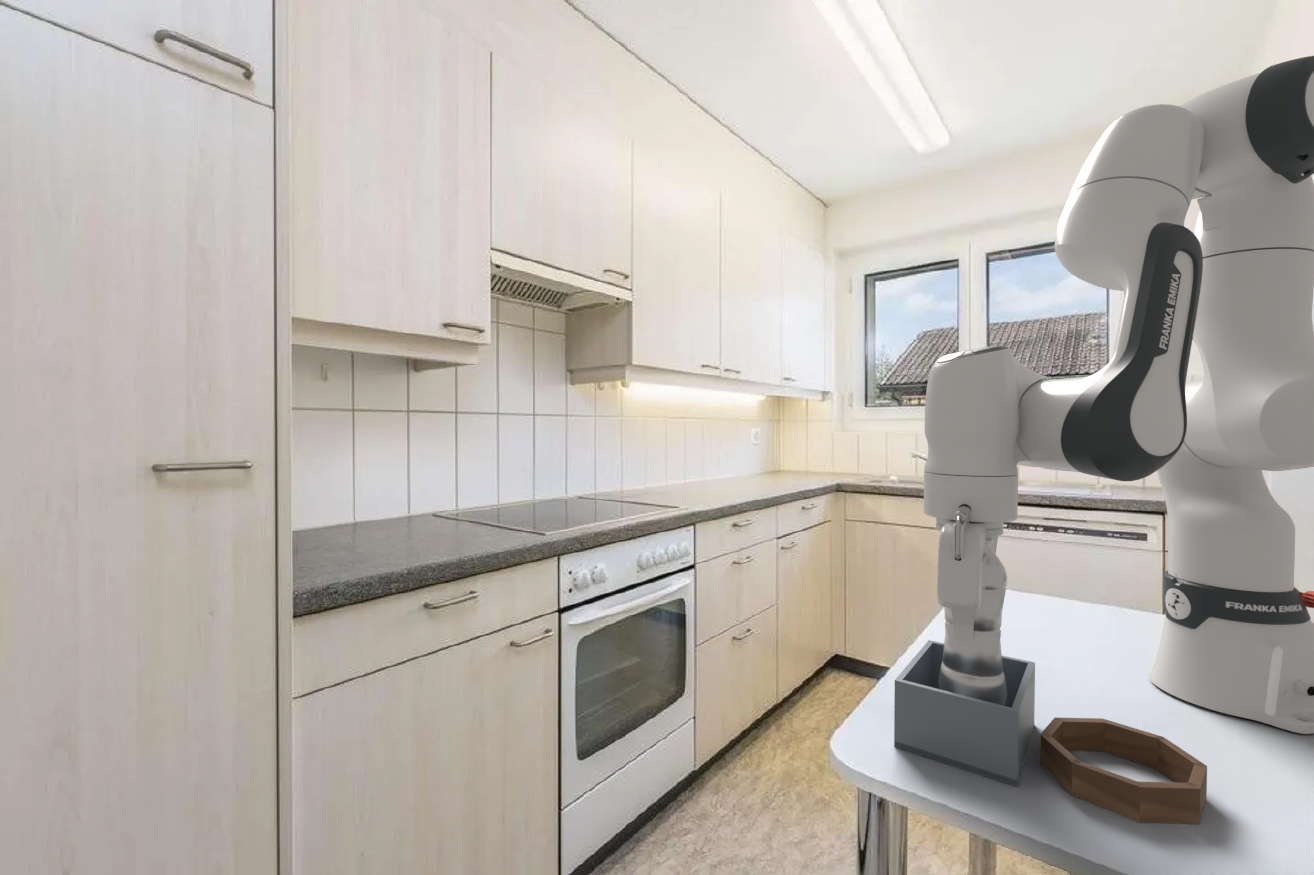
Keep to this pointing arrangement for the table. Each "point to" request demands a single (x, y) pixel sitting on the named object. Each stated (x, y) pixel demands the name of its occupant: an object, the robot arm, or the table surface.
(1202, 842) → the table surface
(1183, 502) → the robot arm
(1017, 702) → the bin
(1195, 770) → the collar
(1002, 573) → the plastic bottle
